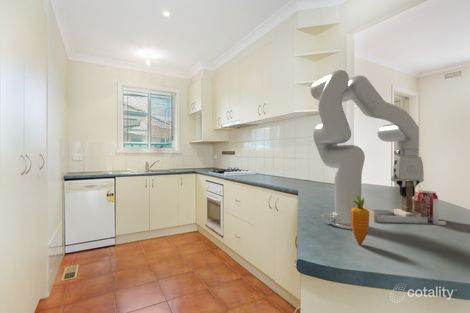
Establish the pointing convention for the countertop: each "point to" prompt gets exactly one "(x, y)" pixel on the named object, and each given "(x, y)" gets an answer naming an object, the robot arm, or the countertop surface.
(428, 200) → the soda can
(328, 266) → the countertop surface
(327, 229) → the countertop surface
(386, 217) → the track
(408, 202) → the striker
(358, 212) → the carrot
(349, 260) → the countertop surface
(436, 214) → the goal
